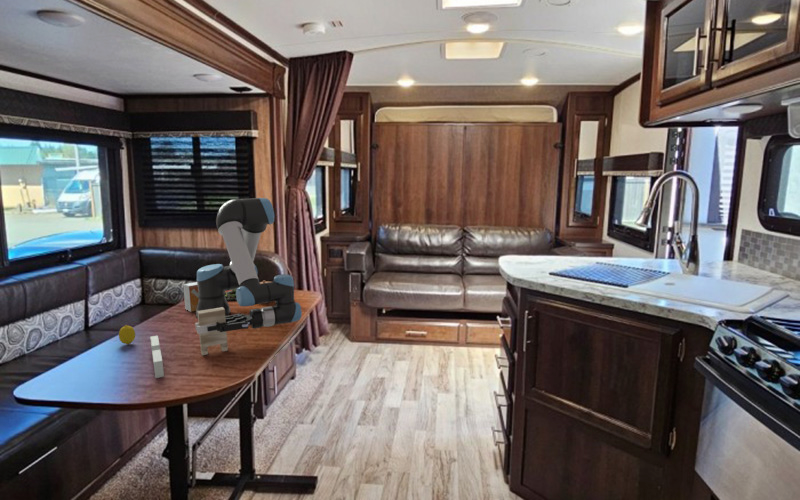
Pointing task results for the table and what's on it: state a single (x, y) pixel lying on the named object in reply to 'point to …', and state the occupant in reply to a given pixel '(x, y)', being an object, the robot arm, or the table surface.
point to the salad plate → (231, 295)
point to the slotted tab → (214, 336)
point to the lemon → (126, 334)
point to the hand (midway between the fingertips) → (196, 328)
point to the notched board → (157, 357)
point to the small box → (191, 296)
